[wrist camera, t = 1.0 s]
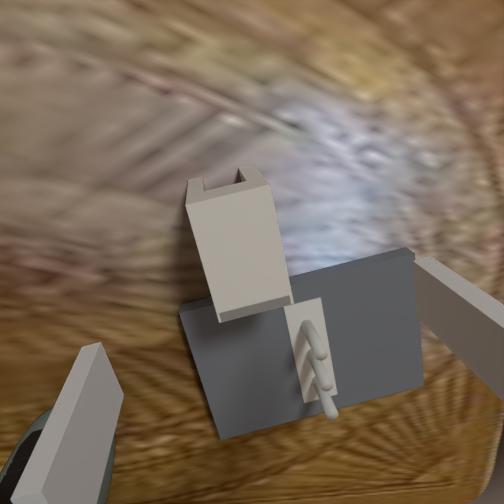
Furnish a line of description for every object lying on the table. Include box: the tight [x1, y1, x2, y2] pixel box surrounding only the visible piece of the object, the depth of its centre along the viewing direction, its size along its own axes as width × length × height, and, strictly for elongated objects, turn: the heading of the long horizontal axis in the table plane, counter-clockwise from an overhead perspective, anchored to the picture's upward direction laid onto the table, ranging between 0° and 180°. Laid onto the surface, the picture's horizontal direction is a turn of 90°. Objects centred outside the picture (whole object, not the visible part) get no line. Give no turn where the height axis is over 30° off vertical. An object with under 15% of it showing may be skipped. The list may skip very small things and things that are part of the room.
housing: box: [185, 165, 294, 323], centre depth 28 cm, size 5×8×8 cm, turn 12°
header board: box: [179, 247, 424, 440], centre depth 34 cm, size 20×14×6 cm
